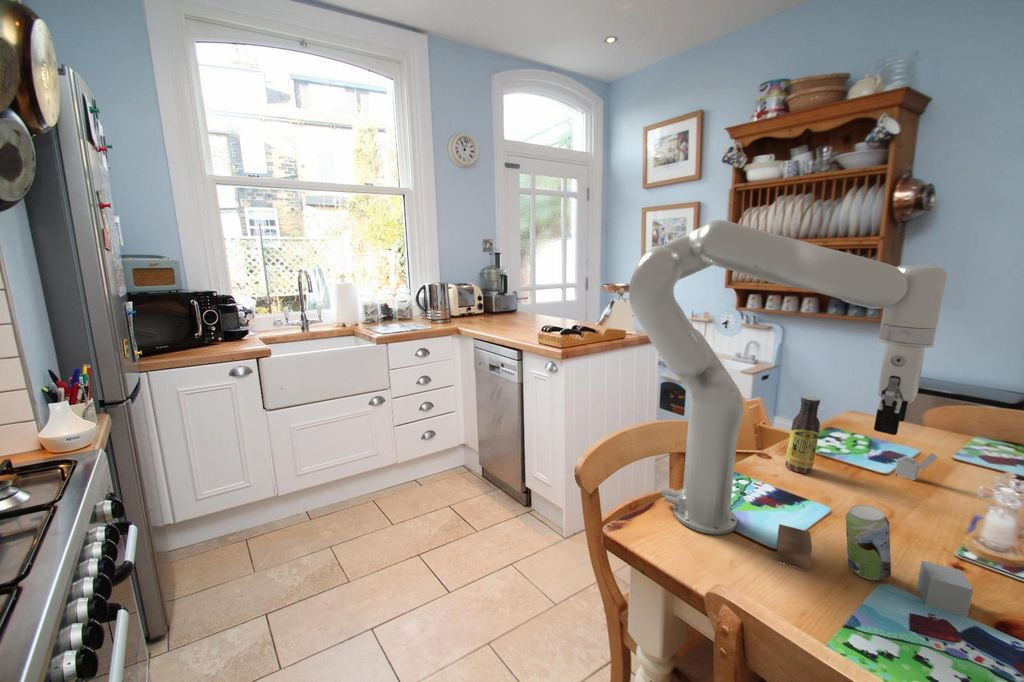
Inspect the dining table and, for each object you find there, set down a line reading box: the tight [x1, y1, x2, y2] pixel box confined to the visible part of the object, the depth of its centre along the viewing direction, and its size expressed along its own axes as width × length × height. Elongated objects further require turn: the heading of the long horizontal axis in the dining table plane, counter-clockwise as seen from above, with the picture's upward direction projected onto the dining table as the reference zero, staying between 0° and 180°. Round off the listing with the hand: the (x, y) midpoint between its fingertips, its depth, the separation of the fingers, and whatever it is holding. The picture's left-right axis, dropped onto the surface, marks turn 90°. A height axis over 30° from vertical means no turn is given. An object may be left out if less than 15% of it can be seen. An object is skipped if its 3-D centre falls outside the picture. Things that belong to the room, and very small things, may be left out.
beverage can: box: [845, 504, 892, 581], centre depth 80 cm, size 6×7×12 cm
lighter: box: [894, 452, 939, 481], centre depth 114 cm, size 7×2×8 cm, turn 33°
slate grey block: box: [916, 560, 974, 618], centre depth 74 cm, size 5×5×5 cm
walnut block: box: [775, 523, 813, 572], centre depth 84 cm, size 5×5×5 cm
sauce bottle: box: [785, 395, 821, 474], centre depth 118 cm, size 7×6×20 cm
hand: (889, 425), depth 84 cm, fingers open, 9 cm apart
